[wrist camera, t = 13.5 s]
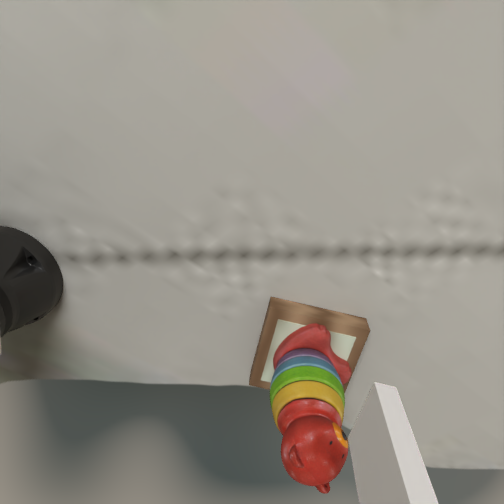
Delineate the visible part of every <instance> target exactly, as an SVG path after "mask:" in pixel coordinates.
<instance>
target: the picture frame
mask: <svg viewBox="0 0 504 504" xmlns="http://www.w3.org/2000/svg"><path fill="white" fill-rule="evenodd" d="M313 323H317V324H319V325H324V326H326V329H327V330H328V331H329V332H330V334H331V342H330V345H331V348H332V350H333V352H334V353H335V354H336V355H337V356H338V357H340V358H342V359H344V360H346V361H347V362H348V363H349V367H350V368H351V370H352V374H353V371H354V369H355V366H356V364H357V361H358V359H359V357H360V354H361V352H362V349H363V347H364V345H365V342H366V340H367V337H368V335H369V332H370V329H369V326H368V323H367V320H366V318H362V317H357V316H353V315H349V314H344V313H340V312H336V311H331V310H327V309H323V308H318V307H314V306H310V305H305V304H301V303H297V302H292V301H288V300H283V299H279V298H275V297H271V298H270V302H269V305H268V309H267V313H266V317H265V320H264V324H263V328H262V331H261V335H260V339H259V343H258V346H257V350H256V354H255V357H254V361H253V365H252V369H251V374H250V381H249V385H252V386H256V387H261V388H265V389H269V390H270V385H271V381H272V377H273V374H274V371H275V370H274V366H273V357H274V354H275V351H276V350H277V348H278V346H279V345H280V344H281V342H282V341H283V340H284V339H285V338H286V337H287V336H289V335H290V334H291V333H293V332H294V331H296V330H298V329H299V328H301V327H304V326H306V325H308V324H313ZM352 374H351V376H352ZM350 378H351V377H350ZM350 378H349V381H350ZM349 381H348V382H347V383H345V384H344V385H343V389H344V393H345V391H346V388H347V386H348V383H349Z"/></svg>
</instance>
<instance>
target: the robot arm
mask: <svg viewBox="0 0 504 504" xmlns="http://www.w3.org/2000/svg"><path fill="white" fill-rule="evenodd" d="M62 286H63V285H62V276H61V273H60V270H59V267H58V265H57V263H56V261H55V259H54V258H53V256H52V255H51V254H50V252H49V251H48V250H47V249H46V248H45V247H44V246H43V245H42V244H41V243H40V242H38V241H37V240H36V239H34V238H33V237H31V236H30V235H28V234H26V233H24V232H22V231H20V230H17V229H14V228H10V227H4V226H0V355H1V337H2V336H3V335H4V334H6V333H7V332H10V331H13V330H15V329H18V328H20V327H22V326H24V325H27V324H30V323H33V322H35V321H38V320H39V319H41V318H43V317H44V316H45V315H46V314H47V313H48V312H50V311H51V310H52V309H53V308H54V307H55V306H56V304H57V303H58V301H59V299H60V297H61V294H62ZM348 440H349V446H350V452H351V458H352V463H353V469H354V475H355V481H356V487H357V493H358V498H359V504H438V501H437V499H436V496H435V493H434V490H433V487H432V485H431V482H430V479H429V477H428V474H427V471H426V468H425V465H424V463H423V460H422V457H421V454H420V452H419V449H418V446H417V443H416V441H415V438H414V435H413V432H412V430H411V427H410V424H409V421H408V419H407V416H406V413H405V410H404V408H403V405H402V402H401V399H400V397H399V394H398V391H397V388H396V387H393V386H389V385H385V384H381V383H377V382H374V384H373V386H372V388H371V390H370V392H369V394H368V396H367V399H366V401H365V403H364V405H363V407H362V409H361V411H360V413H359V416H358V418H357V420H356V422H355V424H354V426H353V428H352V430H351V433H350V435H349V437H348Z"/></svg>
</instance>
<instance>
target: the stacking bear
mask: <svg viewBox="0 0 504 504" xmlns="http://www.w3.org/2000/svg"><path fill="white" fill-rule="evenodd" d="M330 342H331V334H330V332H329V331H328V330H327V329H326V326H324V325H319V324H317V323H313V324H308V325H306V326H304V327H301V328H299V329H298V330H296V331H294V332H293V333H291V334H290V335H289V336H287V337H286V338H285V339H284V340H283V341H282V342H281V344H280V345H279V346H278V348H277V350H276V351H275V354H274V357H273V366H274V370H275V371H274V374H273V377H272V381H271V385H270V403H271V408H272V412H273V417H274V420H275V423H276V426H277V428H278V429H279V431H280V432H281V433H282V435H283V439H282V444H281V456H282V462H283V465H284V467H285V469H286V471H287V472H288V474H289V475H290V476H291V477H292V478H293V479H294V480H296V481H297V482H299V483H301V484H304V485H308V486H316V488H317V489H318V490H319V491H320V492H321V493H328V492H329V491H330V486H329V482H330V481H332V480H333V479H334V478H335V477H336V476H337V475H338V474H339V472H340V471H341V469H342V467H343V465H344V463H345V461H346V457H347V454H348V440H347V437H346V435H345V433H344V432H343V430H342V429H341V426H342V422H343V415H344V405H345V397H344V389H343V385H344V384H345V383H347V382H348V381H349V378H350V377H351V374H352V370H351V368H350V367H349V363H348V362H347V361H346V360H344V359H342V358H340V357H338V356H337V355H336V354H335V353H334V352H333V350H332V348H331V345H330Z"/></svg>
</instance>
